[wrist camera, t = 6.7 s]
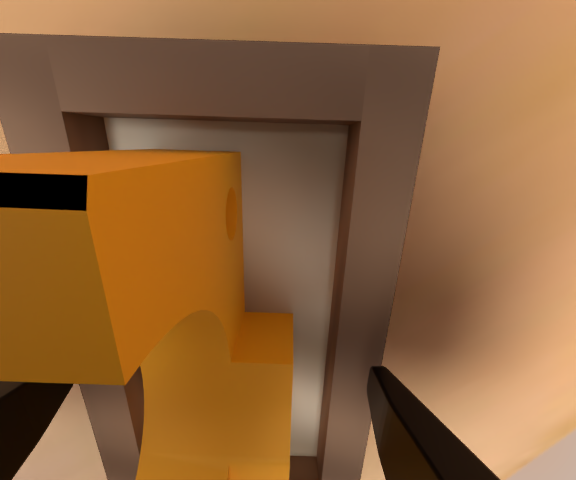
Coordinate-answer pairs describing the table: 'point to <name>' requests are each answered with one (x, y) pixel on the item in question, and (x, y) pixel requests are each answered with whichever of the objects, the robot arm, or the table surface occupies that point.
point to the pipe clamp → (147, 302)
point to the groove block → (256, 193)
